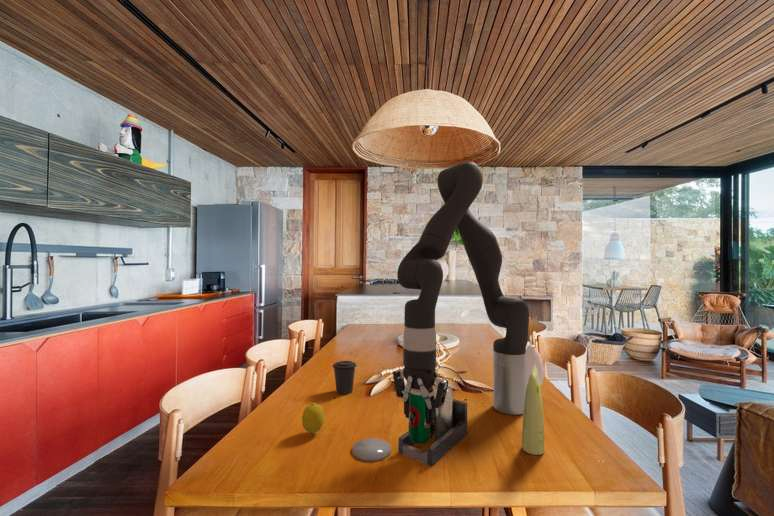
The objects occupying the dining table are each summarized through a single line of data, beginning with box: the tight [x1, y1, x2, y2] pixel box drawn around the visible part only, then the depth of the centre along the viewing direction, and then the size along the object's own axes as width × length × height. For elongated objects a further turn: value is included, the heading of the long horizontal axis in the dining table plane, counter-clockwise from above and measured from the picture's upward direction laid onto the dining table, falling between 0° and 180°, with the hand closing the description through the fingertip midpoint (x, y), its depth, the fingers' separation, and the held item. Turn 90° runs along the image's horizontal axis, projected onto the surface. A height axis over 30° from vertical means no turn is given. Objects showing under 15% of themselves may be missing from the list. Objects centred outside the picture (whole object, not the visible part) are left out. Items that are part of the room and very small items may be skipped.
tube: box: [521, 363, 545, 456], centre depth 83 cm, size 6×5×20 cm
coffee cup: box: [332, 360, 357, 396], centre depth 120 cm, size 8×8×10 cm
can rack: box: [397, 398, 468, 467], centre depth 86 cm, size 18×9×8 cm, turn 143°
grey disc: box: [351, 437, 392, 462], centre depth 83 cm, size 9×9×1 cm
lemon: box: [301, 402, 325, 435], centre depth 91 cm, size 6×6×8 cm
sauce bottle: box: [526, 337, 545, 389], centre depth 121 cm, size 8×8×18 cm
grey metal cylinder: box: [432, 385, 454, 441], centre depth 89 cm, size 5×5×12 cm
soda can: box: [407, 387, 432, 445], centre depth 81 cm, size 5×5×12 cm
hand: (419, 419), depth 81 cm, fingers closed on soda can, 5 cm apart
